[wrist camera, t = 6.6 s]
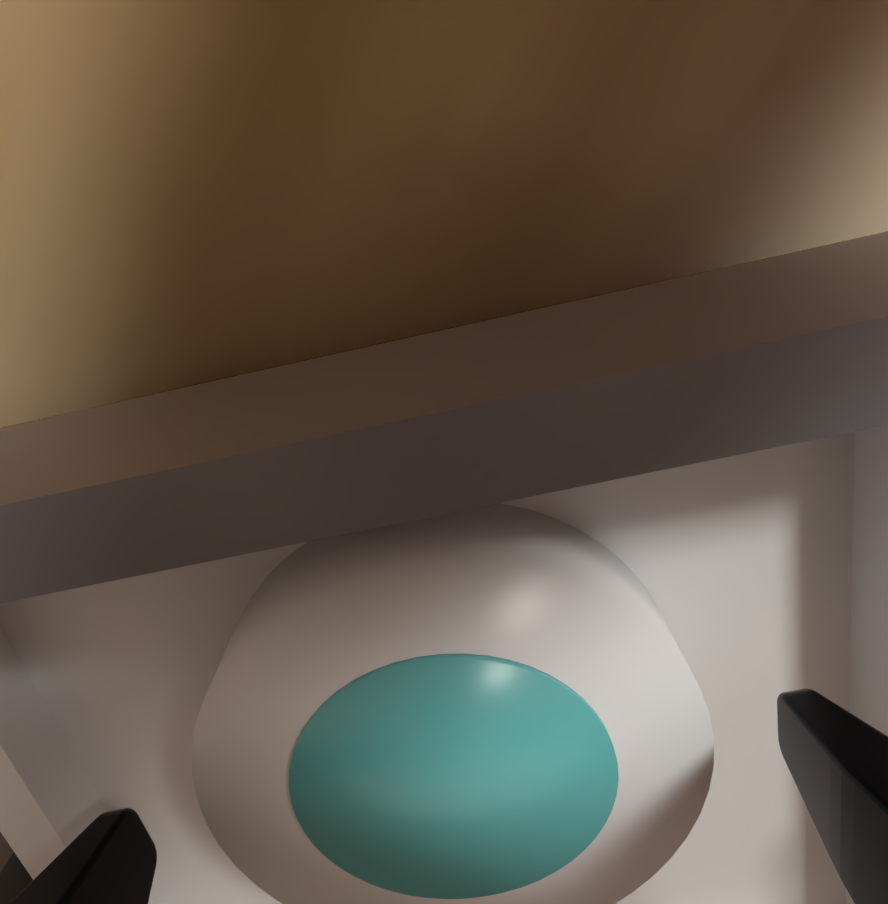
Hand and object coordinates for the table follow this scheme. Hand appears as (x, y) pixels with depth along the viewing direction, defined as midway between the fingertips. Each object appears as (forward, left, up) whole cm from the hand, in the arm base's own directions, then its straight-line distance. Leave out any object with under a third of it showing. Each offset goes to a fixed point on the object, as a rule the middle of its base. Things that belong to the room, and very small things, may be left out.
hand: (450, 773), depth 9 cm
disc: (0, 0, -2) cm, 2 cm away
